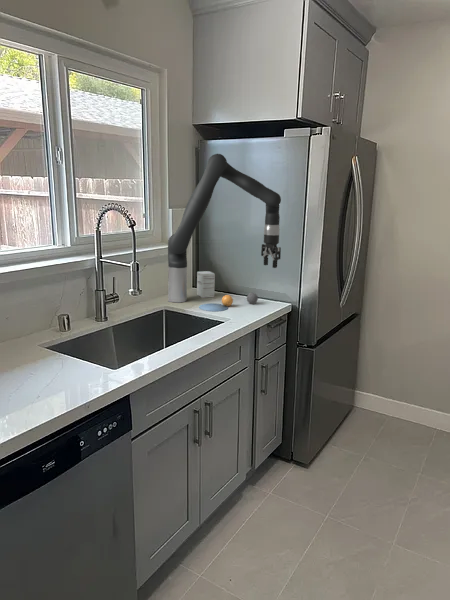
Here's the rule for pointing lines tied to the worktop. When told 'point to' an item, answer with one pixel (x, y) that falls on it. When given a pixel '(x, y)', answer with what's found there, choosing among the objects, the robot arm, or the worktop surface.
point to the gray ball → (252, 298)
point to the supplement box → (205, 284)
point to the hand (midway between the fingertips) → (270, 266)
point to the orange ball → (227, 300)
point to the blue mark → (213, 307)
